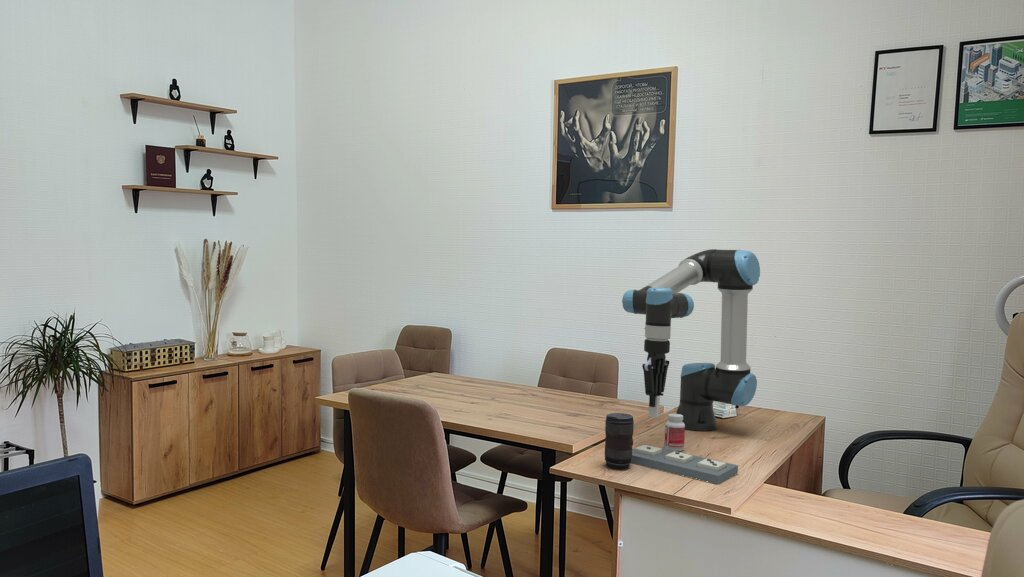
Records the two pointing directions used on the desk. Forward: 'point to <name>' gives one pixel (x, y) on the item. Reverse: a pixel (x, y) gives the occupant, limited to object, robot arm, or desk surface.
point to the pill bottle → (674, 433)
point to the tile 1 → (648, 450)
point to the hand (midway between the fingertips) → (653, 416)
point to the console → (684, 466)
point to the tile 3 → (711, 464)
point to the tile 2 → (679, 457)
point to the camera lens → (618, 440)
